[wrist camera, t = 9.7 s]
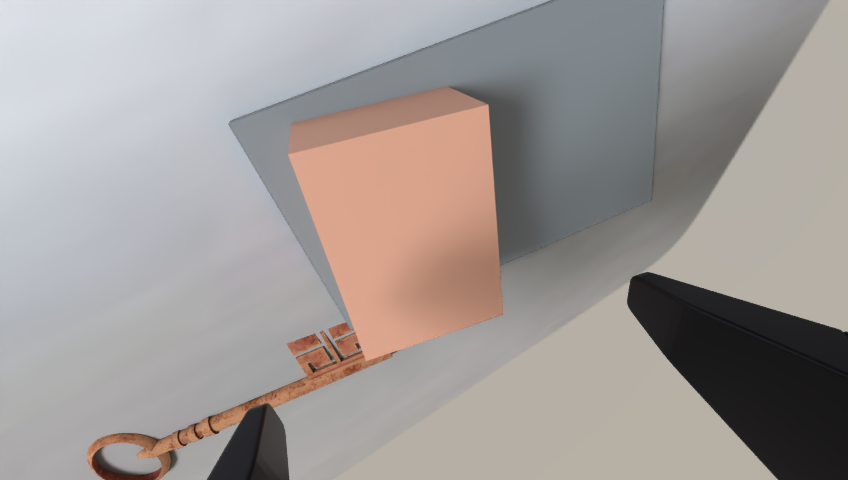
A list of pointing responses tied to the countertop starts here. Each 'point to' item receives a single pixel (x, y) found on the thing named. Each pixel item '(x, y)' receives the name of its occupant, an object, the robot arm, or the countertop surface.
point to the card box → (405, 214)
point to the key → (237, 413)
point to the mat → (510, 118)
